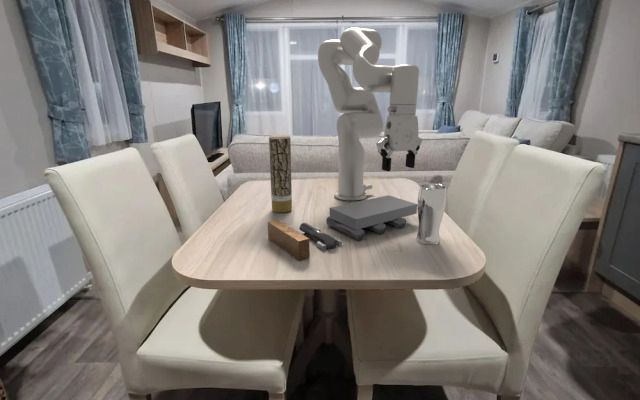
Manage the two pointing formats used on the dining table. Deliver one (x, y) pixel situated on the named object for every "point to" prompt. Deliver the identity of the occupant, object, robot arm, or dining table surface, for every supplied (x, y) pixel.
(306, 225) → the roller
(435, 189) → the beer glass
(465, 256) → the dining table surface
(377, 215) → the slab
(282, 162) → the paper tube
